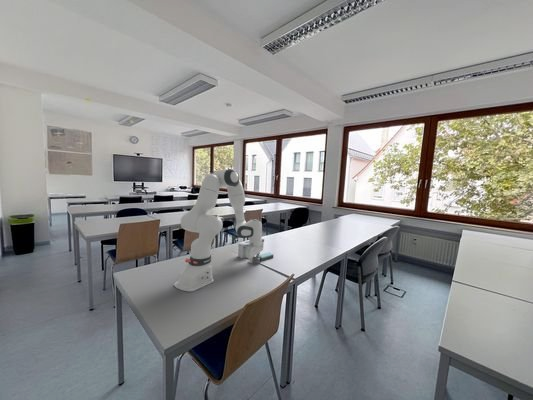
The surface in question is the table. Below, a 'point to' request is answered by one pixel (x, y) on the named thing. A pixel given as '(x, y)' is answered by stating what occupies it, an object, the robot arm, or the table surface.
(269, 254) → the eraser
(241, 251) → the light bulb box
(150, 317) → the table surface
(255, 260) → the dongle
